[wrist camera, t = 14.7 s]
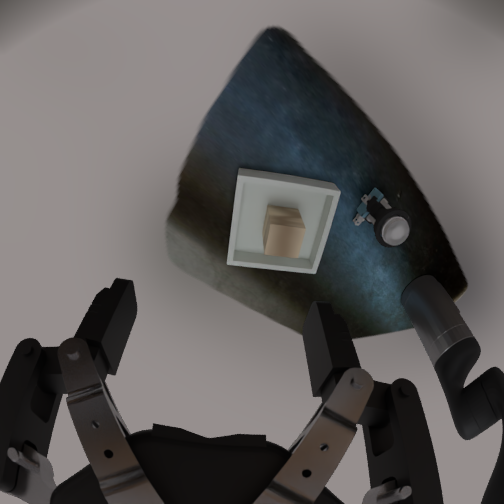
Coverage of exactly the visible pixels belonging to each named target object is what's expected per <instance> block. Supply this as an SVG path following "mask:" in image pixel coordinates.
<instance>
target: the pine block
mask: <svg viewBox="0 0 504 504" xmlns="http://www.w3.org/2000/svg"><path fill="white" fill-rule="evenodd" d="M305 230H306V228H305V225H304V222H303V220H302V217H301V215H300V212H299V210H298V209H295V208H288V207H281V206H274V205H267V209H266V215H265V220H264V225H263V231H262V236H263V246H264V255H271V256H280V257H288V258H297V259H298V256H299V252H300V249H301V245H302V241H303V238H304V234H305Z"/></svg>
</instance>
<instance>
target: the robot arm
mask: <svg viewBox="0 0 504 504" xmlns="http://www.w3.org/2000/svg"><path fill="white" fill-rule="evenodd" d="M401 303H402V305H403V307H404V309H405V311H406V313H407V315H408V316H409V318H410V320H411V322H412V324H413V326H414V328H415V330H416V332H417V334H418V336H419V338H420V340H421V342H422V343H423V346H424V347H425V350H426V352H427V354H428V356H429V358H430V360H431V362H432V364H433V367H434V369H435V371H436V373H437V376H438V378H439V381H440V383H441V386H442V388H443V391H444V393H445V396H446V399H447V402H448V405H449V408H450V411H451V415H452V418H453V421H454V424H455V427H456V429H457V431H458V433H459V435H460V436H461V437H462V438H463V439H465V440H470V439H472V438H474V437H475V436H477V435H479V434H480V433H482V432H483V431H485V430H486V429H488V428H489V427H490V426H492V425H493V424H495V423H496V422H497V421H498V420H500V419H502V424H503V434H502V443H501V448H500V452H499V456H498V459H497V462H496V465H495V468H494V470H493V473H492V476H491V478H490V480H489V483H488V485H487V488H486V491H485V493H484V496H483V499H482V502H481V504H504V373H503V372H502V371H501V370H500V369H499V368H497V367H492V368H490V369H488V370H487V371H485V372H484V373H483V374H482V375H480V377H478V378H477V379H475V380H474V381H473V382H472V383H470V384H469V385H468V386H466V387H465V388H463V387H464V382H465V380H466V377H467V375H468V373H469V372H470V370H471V369H472V367H473V366H474V364H475V363H476V361H477V360H478V358H479V356H480V352H481V349H480V346H479V344H478V342H477V340H476V339H475V337H474V336H473V334H472V332H471V331H470V329H469V327H468V326H467V324H466V323H465V321H464V320H463V318H462V317H461V315H460V311H459V309H458V308H457V306H456V305H455V303H454V302H453V300H452V299H451V297H450V296H449V295H448V293H447V292H446V290H445V289H444V288H443V286H442V285H441V283H440V282H437V280H436V279H435V278H434V277H433V276H431V275H424V276H421V277H419V278H417V279H415V280H414V281H412V282H411V283H410V284H409V285H408V286H407V287H406V289H405V290H404V292H403V294H402V297H401ZM136 315H137V302H136V296H135V290H134V284H133V281H132V280H126V279H120V278H116V279H115V280H114V282H113V284H112V286H111V287H110V289H109V288H104V289H103V290H101V291H100V292H99V293H98V294H97V295H96V297H95V298H94V300H93V302H92V305H90V307H89V309H88V312H87V313H86V315H85V317H84V318H83V320H82V322H81V324H80V326H79V328H78V330H77V332H76V334H75V336H74V337H73V338H69V339H66V340H65V341H63V342H62V343H61V344H60V346H59V347H42V346H41V345H40V343H39V342H38V341H37V340H36V339H33V338H27V339H24V340H22V341H21V342H20V343H19V344H18V345H17V347H16V349H15V351H14V353H13V355H12V357H11V359H10V361H9V364H8V366H7V369H6V371H5V373H4V375H3V378H2V380H1V382H0V491H2V492H5V493H7V494H10V495H12V496H15V497H18V498H20V499H22V500H23V501H25V502H27V503H29V504H344V503H343V502H342V501H341V500H339V499H338V498H337V497H336V496H335V495H334V494H333V493H332V492H331V491H330V490H329V489H327V488H326V487H325V485H326V484H327V482H328V480H329V479H330V477H331V476H332V474H333V473H334V471H335V469H336V468H337V466H338V464H339V463H340V461H341V459H342V457H343V456H344V454H345V452H346V451H347V449H348V447H349V445H350V443H351V442H352V440H353V438H354V436H355V434H356V432H357V427H356V424H361V425H362V426H363V433H364V439H365V446H366V453H367V460H368V468H369V477H370V486H371V489H370V490H369V491H368V492H367V493H366V494H365V496H364V498H363V502H362V504H444V503H443V497H442V490H441V484H440V478H439V473H438V468H437V463H436V458H435V453H434V449H433V445H432V441H431V437H430V433H429V429H428V425H427V421H426V418H425V414H424V411H423V407H422V404H421V401H420V397H419V395H418V392H417V388H416V387H415V385H414V384H413V383H412V382H411V381H409V380H407V379H404V378H400V379H397V380H395V381H394V382H393V383H392V384H387V383H382V382H378V381H374V380H373V378H372V377H371V375H370V374H369V373H368V372H367V371H365V370H364V369H361V366H360V363H359V359H358V356H357V353H356V350H355V347H354V344H353V341H352V338H351V335H350V333H349V329H348V326H347V323H346V321H345V320H344V319H343V318H342V317H341V315H340V314H334V311H333V308H332V305H331V303H330V302H318V301H314V302H313V303H312V305H311V307H310V310H309V313H308V315H307V318H306V320H305V323H304V326H303V341H304V346H305V351H306V358H307V363H308V369H309V375H310V381H311V387H312V393H313V397H322V403H321V405H320V406H319V408H318V409H317V411H316V412H315V414H314V415H313V417H312V418H311V420H310V421H309V423H308V424H307V426H306V427H305V428H304V430H303V431H302V433H301V434H300V435H299V437H298V438H297V439H296V440H295V442H294V443H293V444H292V445H291V447H290V448H289V449H288V450H286V449H285V448H283V447H281V446H279V445H277V444H275V443H271V442H269V441H266V435H249V434H235V435H230V436H223V437H216V438H206V437H203V436H200V435H197V434H195V433H192V432H189V431H186V430H184V429H181V428H176V427H170V426H165V425H159V424H153V428H152V429H150V430H142V431H139V432H136V433H133V434H130V432H129V430H128V428H127V426H126V424H125V423H124V421H123V419H122V417H121V415H120V414H119V411H118V409H117V407H116V405H115V403H114V400H113V398H112V396H111V394H110V391H109V389H108V387H107V384H106V382H105V379H106V376H107V374H111V375H116V372H117V369H118V366H119V363H120V360H121V357H122V354H123V351H124V349H125V346H126V343H127V340H128V337H129V335H130V332H131V329H132V326H133V324H134V321H135V319H136ZM63 394H68V397H67V398H66V402H67V406H68V409H69V411H70V415H71V418H72V420H73V423H74V426H75V429H76V431H77V434H78V437H79V439H80V441H81V444H82V446H83V448H84V451H85V453H86V456H87V458H88V460H89V462H90V464H89V465H87V466H86V467H84V468H83V469H82V470H80V471H79V472H77V473H76V474H74V475H73V476H71V477H70V478H68V479H67V480H65V481H64V482H63V483H61V484H60V485H58V486H56V484H55V482H54V479H53V476H54V473H53V468H52V465H51V463H50V462H49V460H48V459H47V454H48V449H49V444H50V440H51V436H52V431H53V427H54V423H55V419H56V416H57V412H58V409H59V405H60V402H61V398H62V395H63Z"/></svg>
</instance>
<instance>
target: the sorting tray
mask: <svg viewBox="0 0 504 504" xmlns="http://www.w3.org/2000/svg"><path fill="white" fill-rule="evenodd" d="M340 193H341V191H340V190H339V189H338V188H337V186H336V185H335V184H334V183H331V182H326V181H320V180H315V179H310V178H304V177H298V176H292V175H286V174H280V173H273V172H266V171H259V170H252V169H244V168H239V170H238V178H237V185H236V193H235V200H234V208H233V216H232V224H231V233H230V241H229V249H228V258H227V264H228V265H236V266H245V267H254V268H264V269H273V270H282V271H292V272H302V273H312V274H316V271H317V268H318V265H319V262H320V259H321V256H322V253H323V250H324V247H325V243H326V240H327V237H328V234H329V231H330V227H331V224H332V221H333V217H334V214H335V210H336V207H337V204H338V200H339V197H340ZM267 205H274V206H281V207H288V208H295V209H298V210H299V212H300V215H301V217H302V220H303V222H304V225H305V228H306V230H305V234H304V238H303V241H302V245H301V249H300V252H299V256H298V259H297V258H288V257H280V256H271V255H264V246H263V236H262V231H263V225H264V220H265V215H266V209H267Z"/></svg>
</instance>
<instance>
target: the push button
mask: <svg viewBox="0 0 504 504" xmlns="http://www.w3.org/2000/svg"><path fill="white" fill-rule="evenodd" d="M364 197H365V199H363V198H364ZM361 200H362V201H363V202H362V203H361V204H360V205H359V207H358V208H357V212H358V214H357V216H356V217H355V218H354V220H353V222H354V223H355V225H357V226H359V224H360V223H361V222H362V221H364V220H366V221H367V222H369V223H370V224H371V223H373V225H374V232H375V236H376V239H377V240H378V242H379V243H380V244H381V245H382V246H385V247H395V246H397V245H399V244H401V243H402V242H404V241H405V240H406V238H407V237H408V235H409V233H410V231H411V219H410V217H409V215H408V214H407V213H406V212H404V211H403V210H400V209H398V208H395V207H394V208H391V207H390V206H389V205H388V204H389V203H390V201H389V200H388V199H387V198H386V197H385V196H384V195H383V194H382V193H381V192H380V191H379V190H378V189H377V188H374V189H373V190H372V191H371V193H370V194H369V195H368V196H367V195H366V194H365V195H364V196H363V197H362V198H361ZM385 208H386V209H385ZM399 215H402V217H400V216H399ZM355 219H357V221H355ZM375 219H376V220H375ZM358 221H359V224H357V222H358ZM380 233H381V235H382V237H381V236H380Z"/></svg>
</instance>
